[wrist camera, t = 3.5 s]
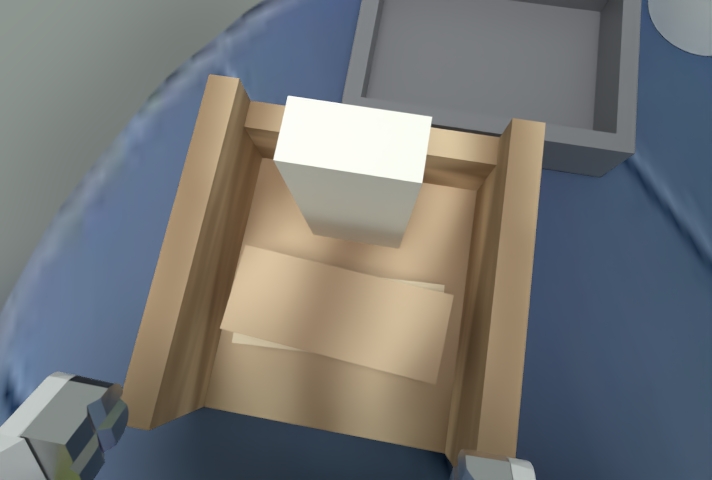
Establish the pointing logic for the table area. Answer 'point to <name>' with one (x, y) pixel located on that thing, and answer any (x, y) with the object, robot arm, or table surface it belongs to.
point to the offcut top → (339, 313)
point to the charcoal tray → (507, 70)
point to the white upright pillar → (353, 168)
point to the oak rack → (294, 238)
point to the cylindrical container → (684, 23)
